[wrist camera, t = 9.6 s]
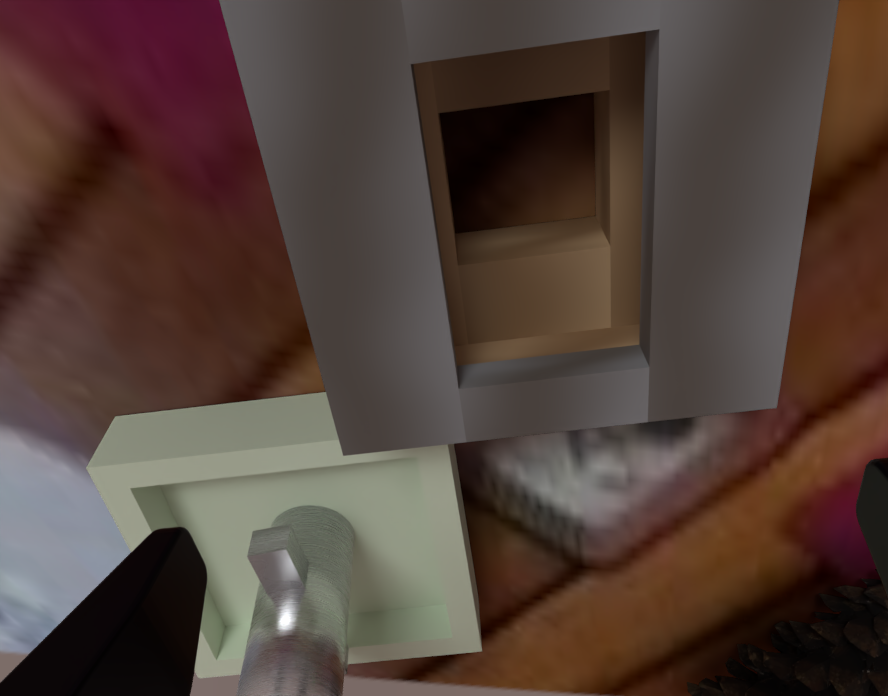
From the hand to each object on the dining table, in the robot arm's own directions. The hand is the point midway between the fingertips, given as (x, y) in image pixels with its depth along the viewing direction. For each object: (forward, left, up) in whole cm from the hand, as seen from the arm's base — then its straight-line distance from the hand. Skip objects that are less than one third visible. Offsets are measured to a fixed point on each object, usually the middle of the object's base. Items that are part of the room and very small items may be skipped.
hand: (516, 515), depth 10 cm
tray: (+7, +12, -12) cm, 19 cm away
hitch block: (-1, 0, -12) cm, 13 cm away
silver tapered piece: (+7, +12, -11) cm, 18 cm away
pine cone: (-17, +17, -16) cm, 29 cm away
